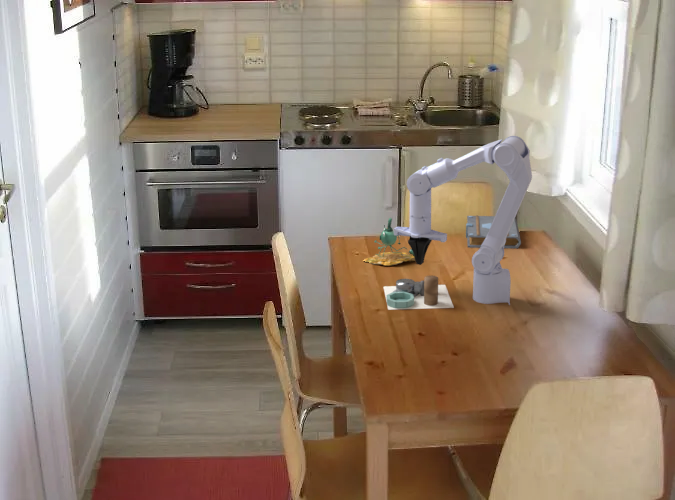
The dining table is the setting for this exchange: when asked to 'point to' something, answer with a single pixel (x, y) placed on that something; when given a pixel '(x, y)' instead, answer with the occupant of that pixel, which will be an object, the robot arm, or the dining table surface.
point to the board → (443, 298)
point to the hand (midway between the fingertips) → (419, 263)
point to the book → (480, 228)
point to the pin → (431, 290)
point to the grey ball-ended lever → (408, 286)
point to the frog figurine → (394, 257)
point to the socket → (400, 299)
